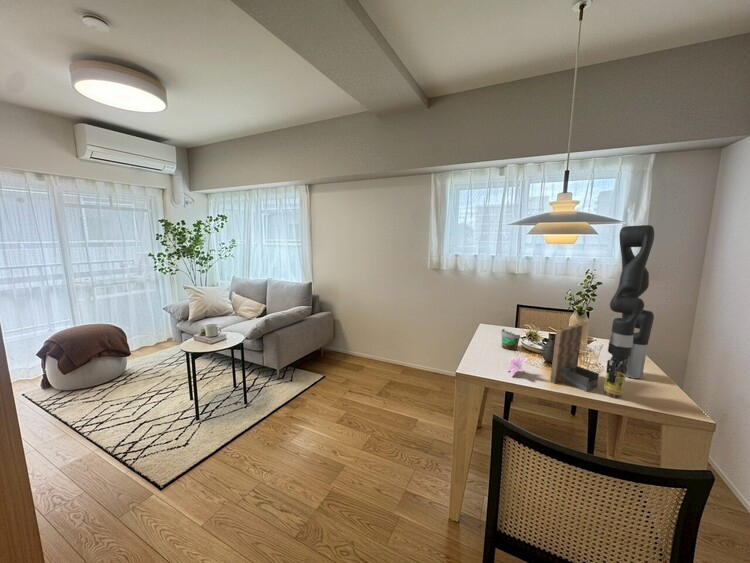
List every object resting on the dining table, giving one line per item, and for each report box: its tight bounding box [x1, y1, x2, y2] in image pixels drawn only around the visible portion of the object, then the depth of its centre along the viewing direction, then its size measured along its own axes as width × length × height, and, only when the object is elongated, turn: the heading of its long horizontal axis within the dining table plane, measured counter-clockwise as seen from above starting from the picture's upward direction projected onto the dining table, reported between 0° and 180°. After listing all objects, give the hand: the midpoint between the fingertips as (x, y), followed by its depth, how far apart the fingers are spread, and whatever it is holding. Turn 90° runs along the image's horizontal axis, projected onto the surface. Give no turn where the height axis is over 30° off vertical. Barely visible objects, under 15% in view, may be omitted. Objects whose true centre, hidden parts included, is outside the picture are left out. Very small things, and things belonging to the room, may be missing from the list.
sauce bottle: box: [603, 357, 627, 398], centre depth 127 cm, size 7×6×20 cm
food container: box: [500, 328, 521, 352], centre depth 178 cm, size 12×6×10 cm, turn 25°
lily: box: [506, 353, 528, 378], centre depth 146 cm, size 12×12×10 cm
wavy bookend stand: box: [549, 323, 600, 392], centre depth 137 cm, size 20×13×25 cm, turn 121°
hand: (614, 380), depth 128 cm, fingers closed on sauce bottle, 6 cm apart
